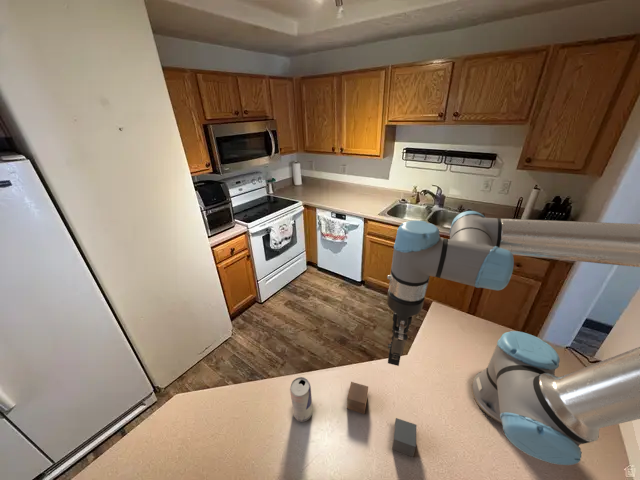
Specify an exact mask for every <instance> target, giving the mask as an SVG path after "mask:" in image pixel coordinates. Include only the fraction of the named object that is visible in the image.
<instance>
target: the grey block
mask: <svg viewBox="0 0 640 480" xmlns="http://www.w3.org/2000/svg"><path fill="white" fill-rule="evenodd" d="M391 442H392V443H391V450H393V451H395V452H398V453H401V454H404V455H406V456H409V457H412V458H413V457H414V455H415V451H416V448H417V424H415V423H413V422H410V421H407V420H404V419H401V418H398V417H395V420H394V424H393V432H392V441H391Z"/></svg>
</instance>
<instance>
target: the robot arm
mask: <svg viewBox="0 0 640 480" xmlns="http://www.w3.org/2000/svg"><path fill="white" fill-rule="evenodd" d="M440 234H441V233H440V229H439V227H438V226H436V225H435V224H433V223H429V222H427V221H425V220H419V219H418V220H415V219H414V220H408V221H405V222H402V223H400V225H399V226H398V228H397V230H396V235H395V241H394V244H393V252H392V253H393V254H392V260H391V261H392V262H391V268H390V274H387V276H386V279H387V280H389V283H388V289H387V294H386V295H387V296H386V304H387V306H388V308H389V309H390V310H391V311H392V312H393V313H392V330H391V332H392V335H391V338H390V339H391V341H390V343H388V344H387V349H389V352H388V356H387V364H389V365H393V366H397V367H399V366H400V360H401V357H403V354H404V349H405V346H406V342H407V340H408V338H409V337H408V333H409V328H410V325H411V324H412V321H413V317H414V316H417V315H419V314H420V313H421V312H422V310H423V307H424V302H425V298H426V294H427V291H428V287H429V282H430V277H435V278H438V279H444V280H447V281H451V282H455V283H459V284H462V285H466V286H470V287H475V288H476V289H479V288H481V289H487V290H492V291H502V290H504V289H505V288H506V287H508V285H509V283H510V281H511V279H512V275H513V271H514V265H515V260H514V256H517V257H518V256H519V257H528V258H540V259H550V260H560V261H571V262H581V263H592V264H602V265H611V266H612V265H613V266H623V267H633V268H640V223H623V222H622V223H621V222H599V221H598V222H597V221H574V220H573V221H572V220H571V221H570V220H547V219H546V220H545V219H522V218H497V217H496V218H495V217H486V216H485V215H484V214H483V213H480V212H479V211H475V210H466V211H463V212H460V213H458V214H457V215H456V216H455V217H454V218H453V220H452V222H451V225H450V228H449V238H446V237H445V238H444V237H441V236H440ZM560 361H561V359H560V355H559V353H558V352H557V351H556V349H554V347H553V346H551V345H550V344H549V343H548V342H547V341H544V340H542V339H541V338H539V337H538V336H535V335H534V334H533V335H532V334H531V333H527V332H523V331H518V330H511V331H507V332H504V333H502V335H501V336H500V338H499V339H498V340H497V342H496V346H495V348H494V350H493V353H492V355H491V357H490V360H489V363H488V365H487V367H486V368H484V369H482V370H481V371H479V372H478V373H477V374H476V375H475V376H474V378H473V379H472V381H471V387H470V388H471V394H472V397H473V399H474V401H475V403H476V404H477V405H478V407H479V408H480V409H481V410H482V411H483V413H485V415H487V416H488V417H489V418H490V419H491V420H493V421H495V422H496V423H497V424H500V425H501V426H502V430H503V433H504V435H505V437H506V439H507V440H508V441H509V442H510V443H511V444H512V445H513V446H514V447H516V448H517V449H518V450H520V451H521V452H523V453H524V454H526V455H528V456H530V457H533V458H535V459H537V460H540V461H543V462H545V463H549V464H552V465H557V466H558V465H560V466H573V465H577V464H578V463H580V462H581V458H582V452H583V451H581V450H582V449H581V447H580V445H585V444H589V443H594V442H596V441H597V440H599V437H600V429H602V428H607V427H611V426H616V425H619V424H625V423H628V422H633V421H637V420H640V346H638V347H635V348H633V349H629V350H628V351H625V352H622V353H620V354H617V355H614V356H611V357H609V358H606V359H604V360H601V361H599V362H596V363H593V364H590V365H588V366H585V367H583V368H580V369H577V370H575V371H572V372H570V373H566V374H564V375H562V376H557V375H556V374H555V373H556V370H557V369H558V368H559V367H560Z"/></svg>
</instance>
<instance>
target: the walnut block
mask: <svg viewBox="0 0 640 480" xmlns="http://www.w3.org/2000/svg"><path fill="white" fill-rule="evenodd" d="M368 393H369V386H367V385H365V384H362V383H361V384H360V383H358V382H354V381H350V384H349V389H348V393H347V397H346V409H348V410H350V411H354V412H356V413H360V414H362V415H366V414H365V413H366V407H367V401H368Z"/></svg>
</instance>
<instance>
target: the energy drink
mask: <svg viewBox="0 0 640 480" xmlns="http://www.w3.org/2000/svg"><path fill="white" fill-rule="evenodd" d="M289 393H290V398H291V405H292V412H293V416H294V418H295V419H296V421H298V422H301V423H303V422H307V421H308V420H310V419H311V417H312V415H313V412H314V411H313V402H312V401H313V399H312V387H311V383H310V381H309V380H308V378H306V377H303V376H298V377H296V378H294V379H293V380H292V381H291V382H290V387H289Z"/></svg>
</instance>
